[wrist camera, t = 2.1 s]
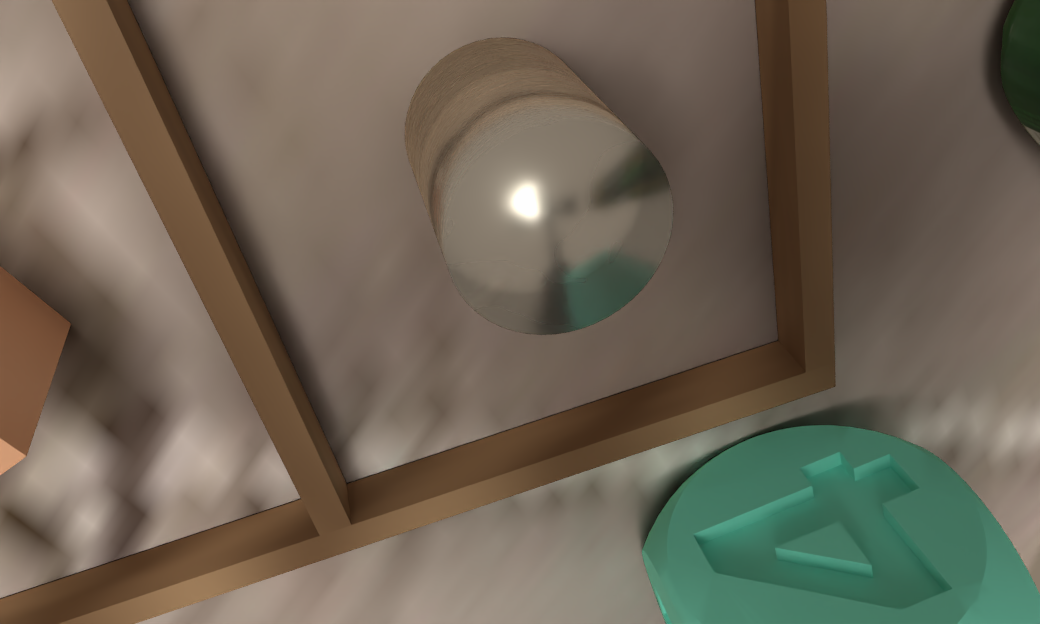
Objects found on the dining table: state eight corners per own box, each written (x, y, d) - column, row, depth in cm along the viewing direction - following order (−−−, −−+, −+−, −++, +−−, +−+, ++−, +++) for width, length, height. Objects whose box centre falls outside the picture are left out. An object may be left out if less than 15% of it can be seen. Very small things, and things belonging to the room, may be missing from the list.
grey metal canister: (569, 13, 18) (657, 88, 14) (601, 186, 21) (685, 295, 17) (380, 69, 18) (415, 162, 14) (433, 239, 20) (477, 362, 16)
